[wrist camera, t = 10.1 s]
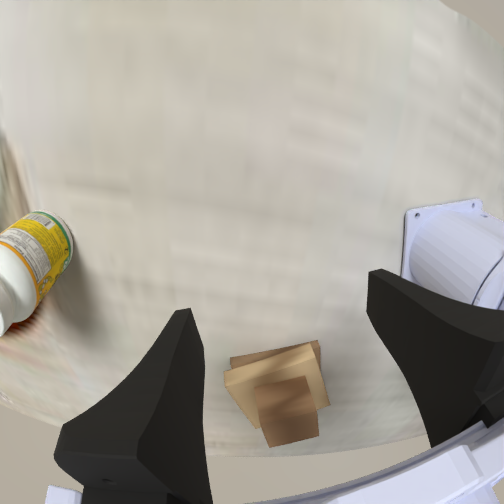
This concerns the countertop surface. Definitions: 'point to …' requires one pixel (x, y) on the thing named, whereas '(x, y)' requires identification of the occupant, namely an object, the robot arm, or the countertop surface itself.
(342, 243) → the countertop surface
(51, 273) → the supplement bottle
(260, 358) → the tile bottom
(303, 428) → the block
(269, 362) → the tile top
